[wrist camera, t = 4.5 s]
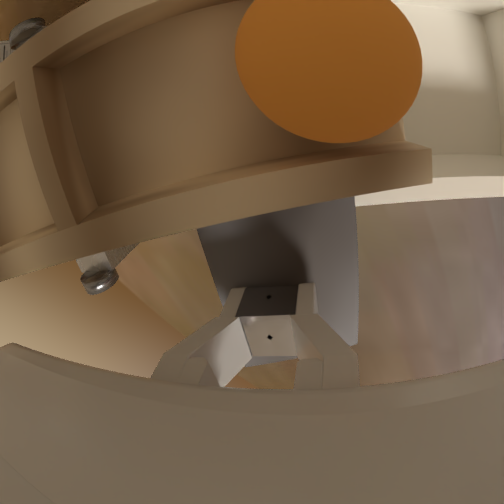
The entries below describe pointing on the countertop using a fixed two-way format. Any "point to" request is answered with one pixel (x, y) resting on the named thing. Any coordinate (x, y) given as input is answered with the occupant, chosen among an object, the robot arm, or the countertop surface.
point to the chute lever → (179, 156)
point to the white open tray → (456, 100)
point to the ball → (329, 66)
